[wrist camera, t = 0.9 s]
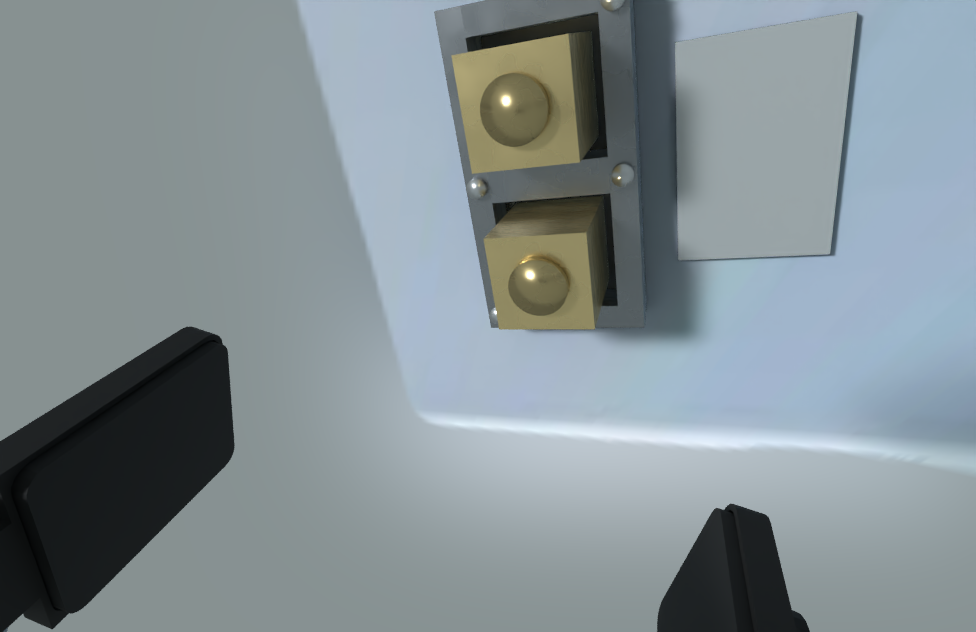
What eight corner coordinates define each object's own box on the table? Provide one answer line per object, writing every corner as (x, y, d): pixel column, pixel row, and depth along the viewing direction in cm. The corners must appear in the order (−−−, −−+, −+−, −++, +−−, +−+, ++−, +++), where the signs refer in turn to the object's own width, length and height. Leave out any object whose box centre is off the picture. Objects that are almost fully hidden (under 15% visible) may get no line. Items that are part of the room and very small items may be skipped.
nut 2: (603, 195, 33) (584, 236, 27) (609, 278, 35) (593, 334, 29) (516, 202, 35) (479, 242, 29) (528, 280, 37) (496, 334, 31)
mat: (854, 11, 26) (857, 11, 25) (828, 251, 31) (830, 254, 30) (675, 42, 28) (675, 42, 28) (678, 258, 33) (678, 260, 33)
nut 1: (591, 30, 29) (566, 33, 23) (599, 136, 32) (577, 165, 25) (494, 48, 31) (446, 56, 25) (508, 146, 33) (467, 176, 27)
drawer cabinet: (632, -27, 27) (627, -32, 25) (646, 309, 36) (643, 330, 33) (450, 12, 31) (431, 11, 28) (501, 311, 39) (489, 330, 37)
